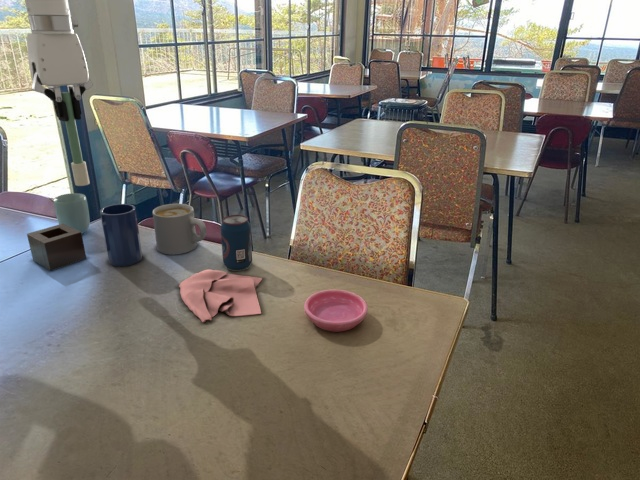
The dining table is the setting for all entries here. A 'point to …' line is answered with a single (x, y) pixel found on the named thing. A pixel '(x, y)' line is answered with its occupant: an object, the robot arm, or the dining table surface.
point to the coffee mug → (176, 228)
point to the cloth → (220, 294)
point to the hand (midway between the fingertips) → (69, 119)
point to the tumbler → (121, 234)
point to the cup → (72, 211)
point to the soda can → (236, 242)
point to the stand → (56, 246)
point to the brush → (75, 145)
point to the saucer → (335, 310)
